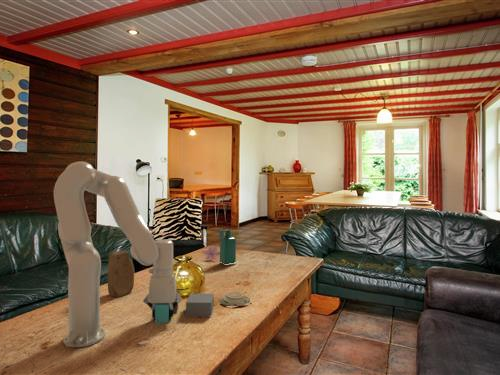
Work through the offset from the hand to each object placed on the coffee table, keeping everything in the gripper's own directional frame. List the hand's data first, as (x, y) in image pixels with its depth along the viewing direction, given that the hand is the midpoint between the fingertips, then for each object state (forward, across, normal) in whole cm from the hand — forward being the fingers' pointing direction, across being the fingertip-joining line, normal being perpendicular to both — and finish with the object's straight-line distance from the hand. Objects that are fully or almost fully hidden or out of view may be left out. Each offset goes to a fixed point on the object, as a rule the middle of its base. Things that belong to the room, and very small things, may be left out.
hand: (162, 318), depth 127 cm
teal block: (+1, 0, 0) cm, 1 cm away
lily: (+1, +17, +90) cm, 92 cm away
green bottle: (+1, +27, +80) cm, 84 cm away
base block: (+1, +14, +7) cm, 16 cm away
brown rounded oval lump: (+1, -24, +30) cm, 38 cm away
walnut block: (+1, +2, +9) cm, 9 cm away
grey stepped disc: (+1, +29, +17) cm, 34 cm away
